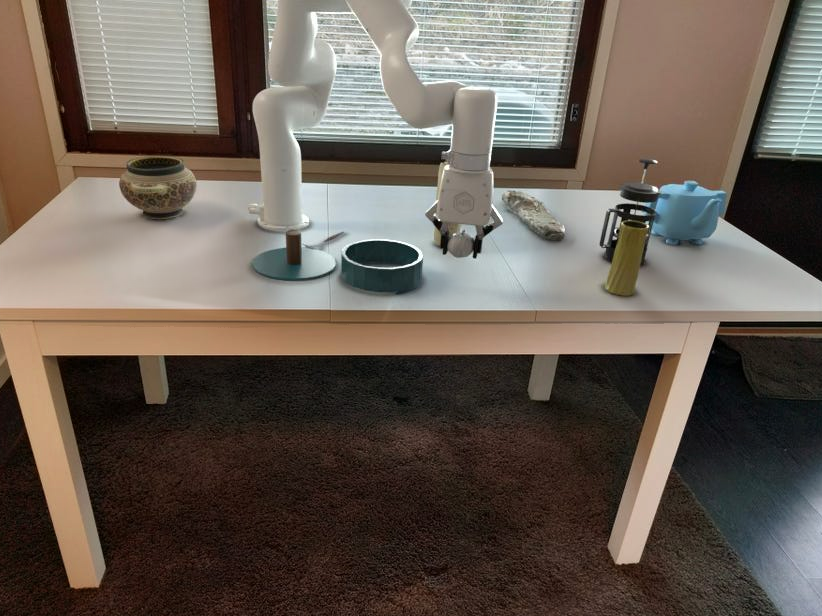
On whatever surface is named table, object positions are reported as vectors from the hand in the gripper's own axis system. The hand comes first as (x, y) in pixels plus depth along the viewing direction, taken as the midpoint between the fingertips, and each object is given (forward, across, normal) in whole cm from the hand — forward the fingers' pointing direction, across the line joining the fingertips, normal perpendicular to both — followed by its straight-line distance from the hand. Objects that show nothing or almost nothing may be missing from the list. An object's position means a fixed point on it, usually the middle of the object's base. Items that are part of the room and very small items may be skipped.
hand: (460, 253), depth 128 cm
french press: (+8, +35, +30) cm, 47 cm away
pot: (+8, -16, +1) cm, 18 cm away
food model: (+8, -6, +26) cm, 28 cm away
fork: (+8, -33, +17) cm, 38 cm away
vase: (+8, +33, +11) cm, 36 cm away
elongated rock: (+8, +13, +53) cm, 55 cm away
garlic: (+1, 0, 0) cm, 1 cm away
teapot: (+8, +51, +50) cm, 72 cm away
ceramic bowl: (+8, -78, +23) cm, 82 cm away
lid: (+7, -35, +1) cm, 36 cm away
